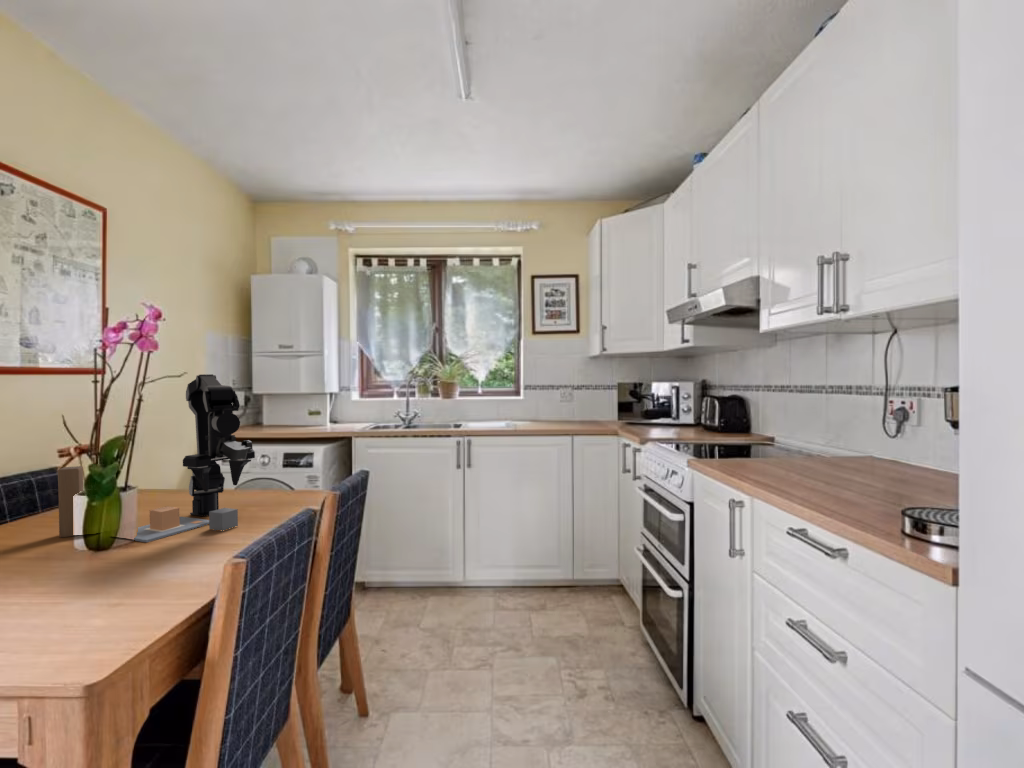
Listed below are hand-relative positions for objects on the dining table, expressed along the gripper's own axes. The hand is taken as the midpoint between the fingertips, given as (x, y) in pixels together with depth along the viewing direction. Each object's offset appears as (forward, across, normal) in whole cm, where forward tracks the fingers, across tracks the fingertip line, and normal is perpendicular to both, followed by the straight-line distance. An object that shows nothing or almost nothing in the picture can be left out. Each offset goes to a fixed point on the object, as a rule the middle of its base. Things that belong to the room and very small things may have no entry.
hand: (221, 488), depth 156 cm
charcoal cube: (+11, 0, 0) cm, 11 cm away
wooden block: (+11, -18, +30) cm, 37 cm away
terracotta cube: (+10, -7, +14) cm, 18 cm away
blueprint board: (+11, -7, +14) cm, 19 cm away
